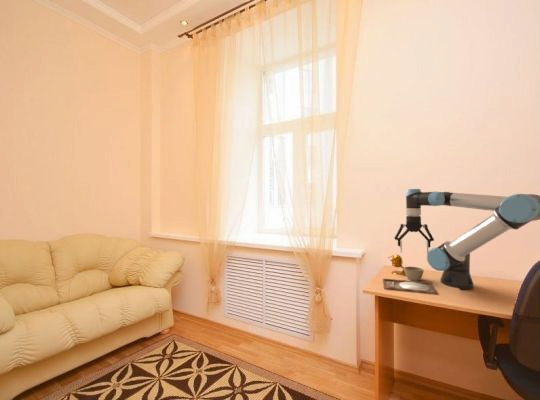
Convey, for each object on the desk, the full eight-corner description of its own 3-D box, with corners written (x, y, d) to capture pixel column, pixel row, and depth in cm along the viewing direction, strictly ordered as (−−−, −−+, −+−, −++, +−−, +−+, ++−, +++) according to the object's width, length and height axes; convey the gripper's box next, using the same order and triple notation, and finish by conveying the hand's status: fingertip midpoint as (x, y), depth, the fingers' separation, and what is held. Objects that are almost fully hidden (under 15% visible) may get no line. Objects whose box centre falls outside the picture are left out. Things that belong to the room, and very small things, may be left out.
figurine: (387, 271, 180) (387, 253, 180) (405, 272, 178) (405, 253, 178) (390, 275, 172) (390, 255, 172) (409, 276, 170) (409, 256, 170)
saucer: (426, 284, 151) (426, 283, 151) (431, 293, 138) (431, 291, 138) (398, 282, 156) (398, 280, 156) (400, 290, 143) (400, 288, 143)
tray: (429, 285, 152) (430, 282, 152) (436, 295, 136) (436, 292, 136) (382, 281, 160) (382, 278, 160) (384, 290, 144) (384, 287, 144)
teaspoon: (391, 281, 156) (391, 281, 156) (395, 282, 155) (395, 281, 155) (389, 287, 147) (389, 286, 147) (393, 287, 146) (393, 286, 146)
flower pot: (426, 284, 155) (426, 271, 154) (406, 283, 157) (406, 270, 156) (420, 278, 164) (420, 266, 164) (402, 277, 166) (402, 266, 166)
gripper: (436, 215, 159) (436, 252, 160) (389, 215, 167) (389, 250, 167) (439, 216, 152) (440, 254, 152) (390, 215, 160) (391, 252, 160)
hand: (413, 252), depth 160 cm, fingers open, 13 cm apart
